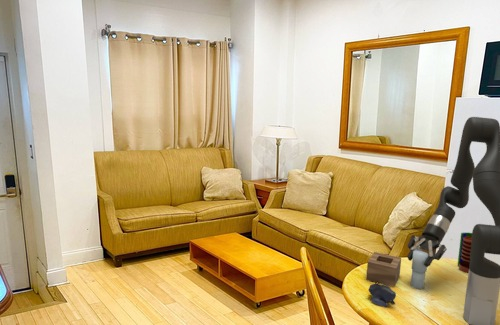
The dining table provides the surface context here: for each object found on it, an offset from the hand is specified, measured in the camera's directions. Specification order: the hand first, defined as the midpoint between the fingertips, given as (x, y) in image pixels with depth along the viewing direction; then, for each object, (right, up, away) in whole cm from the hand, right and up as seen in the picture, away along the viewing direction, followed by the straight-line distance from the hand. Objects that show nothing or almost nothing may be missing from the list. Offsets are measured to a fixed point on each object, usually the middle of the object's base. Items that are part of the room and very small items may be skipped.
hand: (417, 262), depth 150 cm
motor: (+32, -9, +20) cm, 38 cm away
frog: (-17, -12, -10) cm, 23 cm away
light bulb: (+1, -10, +3) cm, 11 cm away
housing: (-10, -9, +9) cm, 16 cm away
